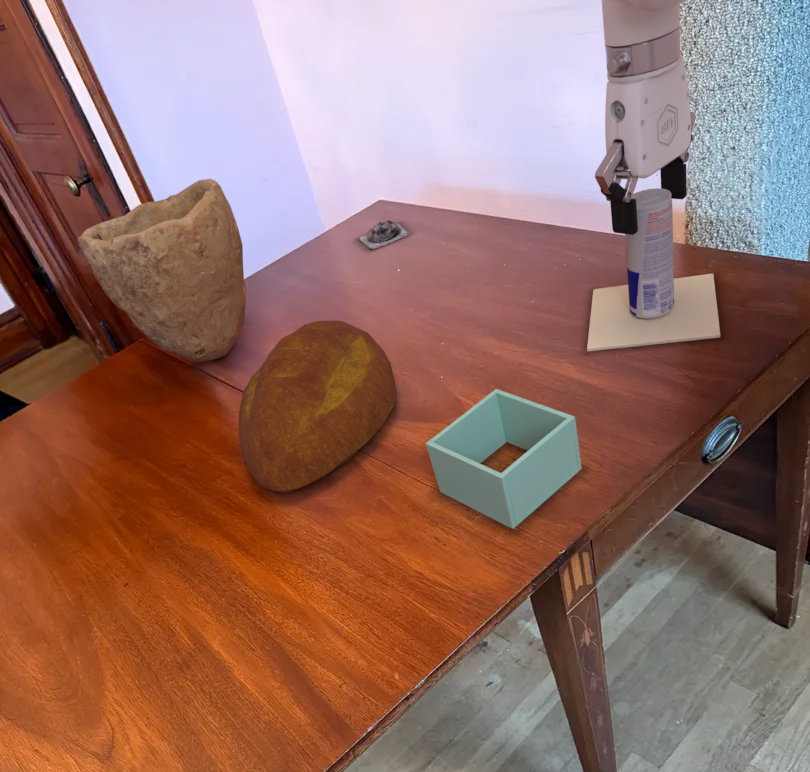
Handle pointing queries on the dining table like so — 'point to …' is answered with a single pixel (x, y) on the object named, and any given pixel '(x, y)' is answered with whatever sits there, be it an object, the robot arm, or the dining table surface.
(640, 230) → the beverage can
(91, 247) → the bowl
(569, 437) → the open square box
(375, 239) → the rusty domed plate
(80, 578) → the dining table surface
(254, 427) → the bread
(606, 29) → the robot arm
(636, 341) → the mat
